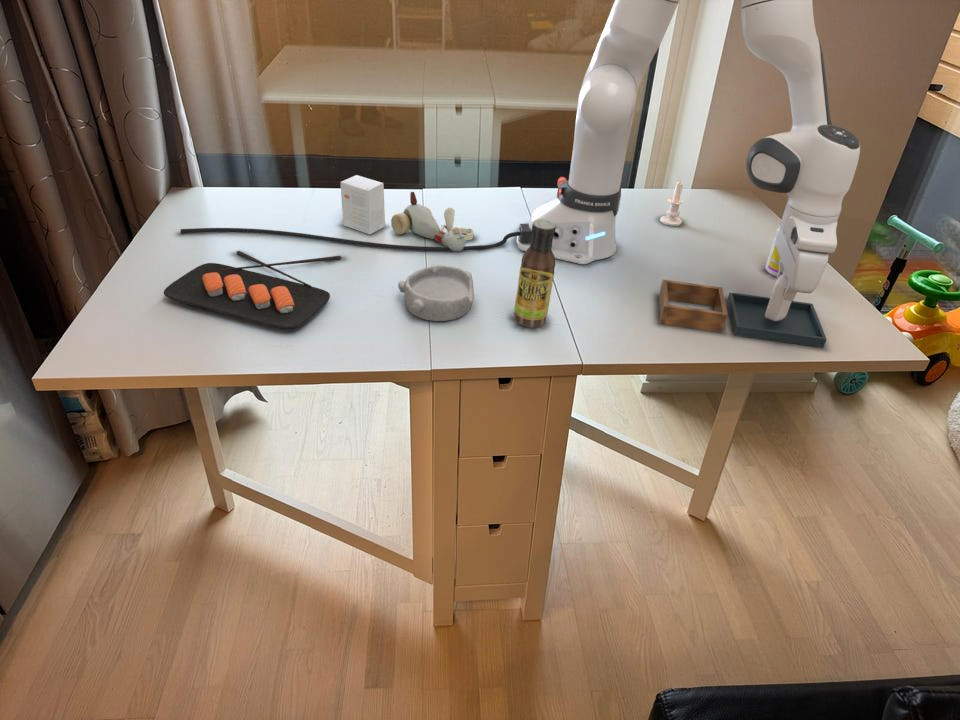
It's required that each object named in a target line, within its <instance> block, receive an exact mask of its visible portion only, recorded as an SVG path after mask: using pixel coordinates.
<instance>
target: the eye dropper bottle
mask: <svg viewBox="0 0 960 720" xmlns="http://www.w3.org/2000/svg"><path fill="white" fill-rule="evenodd" d="M787 286H788V278H787V275H786V273H785V270H784V272H783V275H782V276H780V277H779V278H778V279H777V278H776V280H775V283H774V287H773V290H772V292H771V295H770V297H769V298H770V301H769V304H768V307H767V310H766V313H765V317H766V318H767V319H770V320H772V321H780V320H782V319H784V318H785V317H786V315H787V313H788V310H789V307H790V304H791V302H792V301H787V300H784V297H783V293H784V289H785V288H787Z"/></svg>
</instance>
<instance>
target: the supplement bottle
mask: <svg viewBox="0 0 960 720" xmlns="http://www.w3.org/2000/svg"><path fill="white" fill-rule="evenodd" d="M779 229H780V226H778V228H777V230H776V233H775V236H774V239H773V242H772V245H771V248H770V251H769V255H768V258H767V261H766V264H765V270H766V271H767V272H768V273H769V274H770V275H772V276H774V277H777V275H778V272H779V264H780V256H779V253H778V250H777V248H776V245H775V243H776V237H777V234H778V231H779Z"/></svg>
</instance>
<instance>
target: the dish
mask: <svg viewBox="0 0 960 720" xmlns="http://www.w3.org/2000/svg"><path fill="white" fill-rule="evenodd" d="M397 286H398V290H399V291H400V293H403V294H404V300H405V301H404V302H405V305H406V308H407V309H408V311H409V312H410V313H411V314H412V315H414V316H416V317H417V318H420V319H423V320H426V321H433V322H445V321H446V322H447V321H452V320H456V319H458V318H460V317H462V316H464V315H466V314H467V313H468V312H469V310H470V309H471V307H472V305H473V303H474V297H475V294H474V292H475V289H474V280H473V275H472V273H471V271H470V270H468V269H467V270H465V269H462V268H460V267H456V266H452V265H443V264H442V265H441V264H440V265H439V264H438V265H435V266H426V267H423V268H421V269H418V270H416V271H414V272H412V273H411V274H409V275H408V276H407V277H406V279H405V280H399V281H398V284H397Z"/></svg>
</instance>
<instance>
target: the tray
mask: <svg viewBox="0 0 960 720" xmlns="http://www.w3.org/2000/svg"><path fill="white" fill-rule="evenodd" d="M770 298H771V297H767V296H759V295H752V294H745V293H739V292H738V293H737V292H730V291H729V293H728V296H727V298H726V305H727V308H728V314H729V317H730V323H731V328H732V332H733V336H737V337H743V338H748V339H749V338H750V339H756V340H764V341H771V342H776V343H777V342H778V343H784V344H790V345H791V344H792V345H798V346H805V347H812V348H819V349H824V347H825V345H826V342H827V340H828V339H827V337H826V336H827V335H826V334H825V332H824V329H823V326H822V323H821V322H820V319H819V316H818V313H817V311H816V308H815V306H814V303H810V302H803V301H795V300H793V301H792V302H791V304H790V307H789V310H788V313H787V315H786V317H785V318H784V319H782V320H780V321H772V320H770V319H767V318H766V317H765V313H766V310H767V307H768V304H769V301H770Z"/></svg>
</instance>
